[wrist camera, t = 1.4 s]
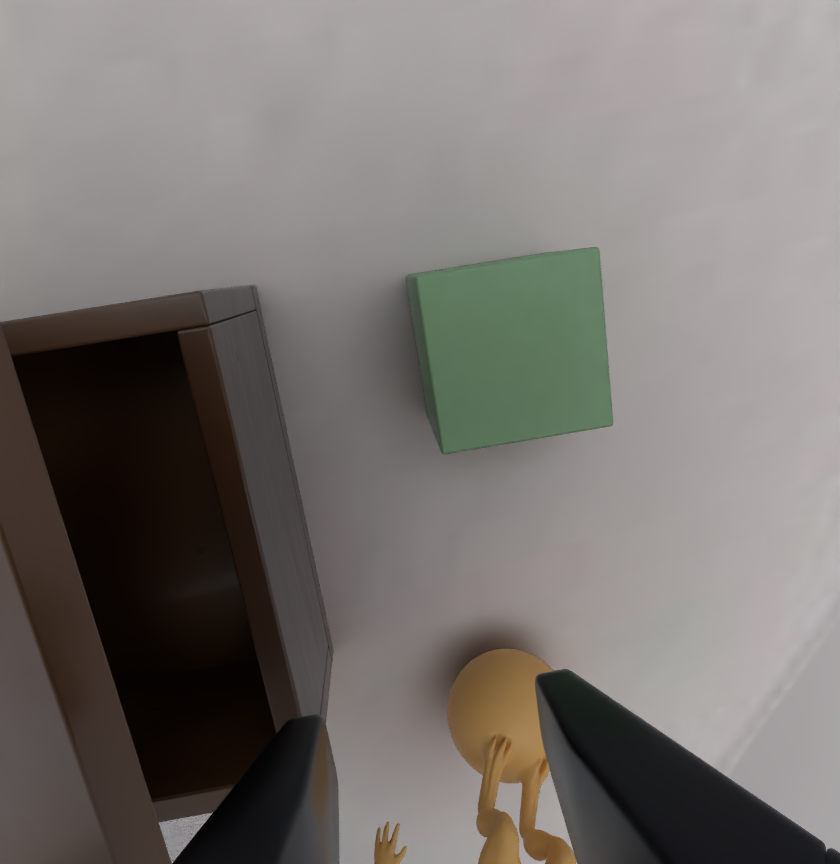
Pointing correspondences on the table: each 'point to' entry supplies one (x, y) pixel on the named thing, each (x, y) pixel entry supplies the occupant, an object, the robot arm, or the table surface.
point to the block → (512, 348)
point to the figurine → (499, 755)
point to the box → (182, 527)
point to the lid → (57, 683)
